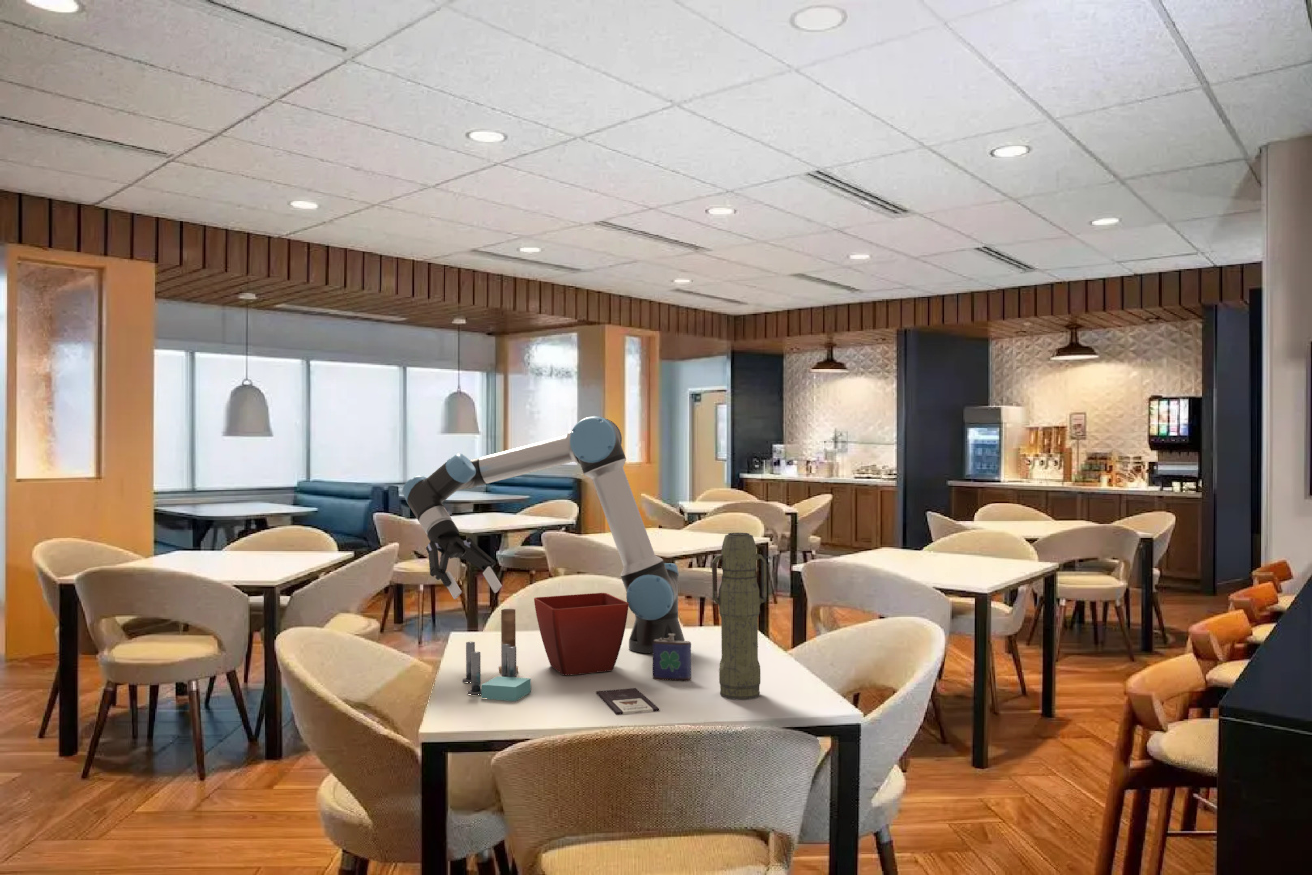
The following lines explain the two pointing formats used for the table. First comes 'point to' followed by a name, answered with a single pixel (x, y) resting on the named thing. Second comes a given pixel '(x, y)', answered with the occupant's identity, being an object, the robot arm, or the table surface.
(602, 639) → the plant pot
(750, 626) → the thermos
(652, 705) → the chocolate bar
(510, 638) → the brown flanged cylinder
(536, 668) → the table surface
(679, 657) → the flask
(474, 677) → the post course
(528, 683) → the block
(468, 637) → the table surface
